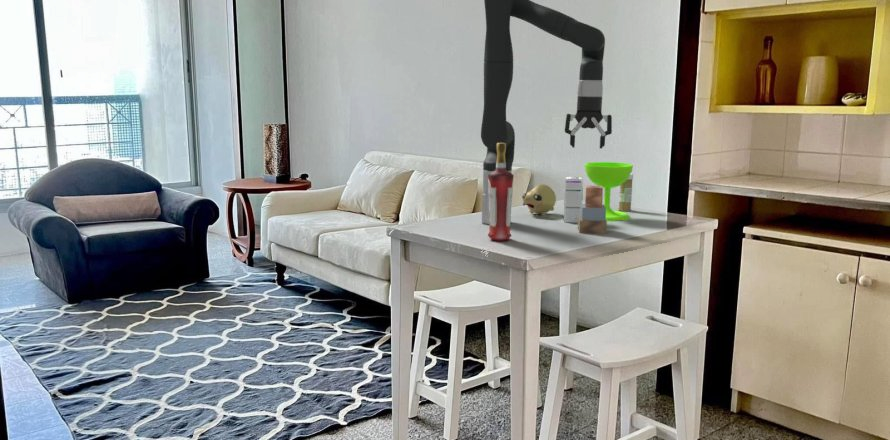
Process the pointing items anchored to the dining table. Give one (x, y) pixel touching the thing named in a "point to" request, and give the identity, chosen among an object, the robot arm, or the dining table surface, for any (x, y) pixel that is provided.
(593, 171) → the wineglass
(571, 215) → the syrup box
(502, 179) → the liquor
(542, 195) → the beige round toy
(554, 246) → the dining table surface
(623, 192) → the sprinkles bottle
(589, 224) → the walnut slab
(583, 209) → the slate block
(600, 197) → the terracotta cube
